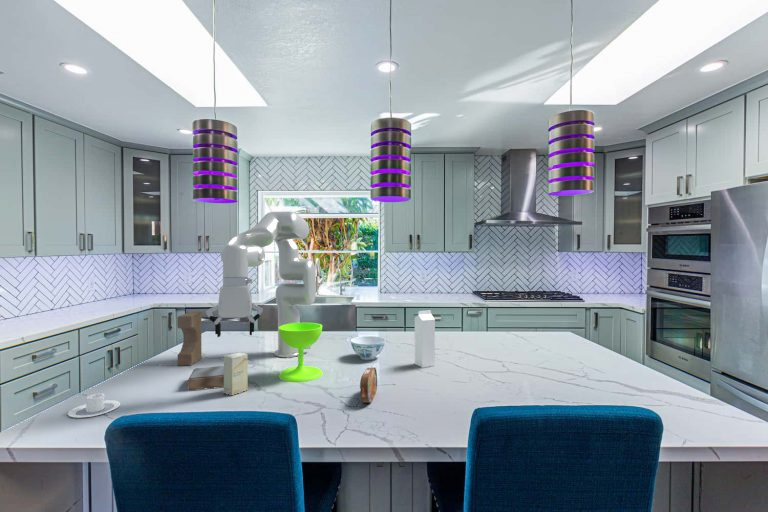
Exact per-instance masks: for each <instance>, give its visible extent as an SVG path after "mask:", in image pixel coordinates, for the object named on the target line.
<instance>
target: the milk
mask: <svg viewBox="0 0 768 512" xmlns="http://www.w3.org/2000/svg"><path fill="white" fill-rule="evenodd" d="M435 324H436V319H435V317H434V316H433V314H432V310H431V309H428V310H418V313H417V316H415V317H414V364H415V365H416V366H418V367H420V368H428V367H429V366H430V367H435V365H436V364H435V363H436V362H435V361H436V358H435V356H436V343H435V342H436V325H435Z"/></svg>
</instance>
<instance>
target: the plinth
mask: <svg viewBox="0 0 768 512" xmlns="http://www.w3.org/2000/svg"><path fill="white" fill-rule="evenodd" d="M214 387H220V388H224V365H219V366H209V367H208V366H207V367H195V368H194V369H193V370H192V372H191V374H190V376H189V377H188V379H187V391H188V390H191V391H197V390H196V389H201V390H206V389H205V388H210V389H215V388H214Z"/></svg>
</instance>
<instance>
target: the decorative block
mask: <svg viewBox="0 0 768 512" xmlns="http://www.w3.org/2000/svg"><path fill="white" fill-rule="evenodd" d="M176 322H177V323H176V324H177V329H180V330H181V331H182V336H183V338H182V340H183V342H182V347H181V349H180V351H179V352H178V354H177V366H178V367H182V366H183V367H185V365H191V366H192V364H193V365H194V364H195V363H197V362H198V361H199V360H201V359H202V312H201V311H188V312H186V313H184V314H181V315H177V321H176ZM196 361H197V362H196Z"/></svg>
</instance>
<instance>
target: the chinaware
mask: <svg viewBox="0 0 768 512" xmlns="http://www.w3.org/2000/svg"><path fill="white" fill-rule="evenodd" d="M350 344H351V347H352V350H353V351H354V352H355V354H357V355H358V356H359V357H360V358H359V359H361V360H365V361H371V360H375V359H376V357H377V356H378V355H379V354H380V353H381V352H382V351H383V350H384V347H385V345H386V339H385V338H384V337H380V336H373V335H369V336H367V335H365V336H363V335H362V336H357V337H354V338H351V340H350Z"/></svg>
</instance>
